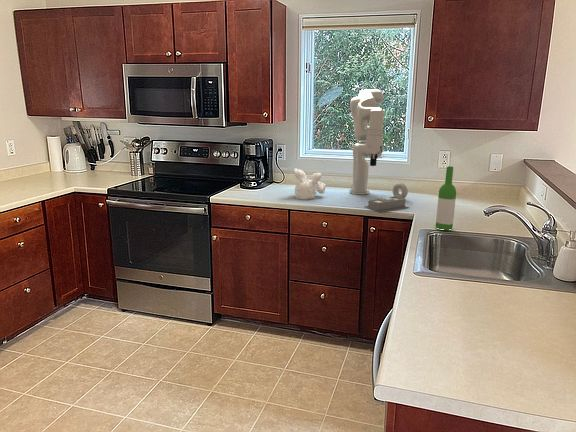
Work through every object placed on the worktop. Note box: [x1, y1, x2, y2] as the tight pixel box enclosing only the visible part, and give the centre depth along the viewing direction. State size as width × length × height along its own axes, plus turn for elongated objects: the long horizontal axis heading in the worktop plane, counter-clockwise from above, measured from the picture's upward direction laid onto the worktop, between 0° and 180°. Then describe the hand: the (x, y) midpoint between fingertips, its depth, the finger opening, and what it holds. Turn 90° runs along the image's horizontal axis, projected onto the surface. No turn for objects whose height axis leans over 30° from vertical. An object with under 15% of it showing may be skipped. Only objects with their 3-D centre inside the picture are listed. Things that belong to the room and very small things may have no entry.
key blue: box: [381, 196, 393, 201], centre depth 269 cm, size 4×4×3 cm
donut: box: [392, 182, 409, 199], centre depth 289 cm, size 10×4×10 cm, turn 43°
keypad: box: [363, 195, 410, 214], centre depth 269 cm, size 14×20×5 cm
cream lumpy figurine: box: [293, 167, 327, 201], centre depth 292 cm, size 19×20×20 cm
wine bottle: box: [435, 165, 457, 230], centre depth 226 cm, size 8×8×30 cm
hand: (373, 165), depth 269 cm, fingers closed
